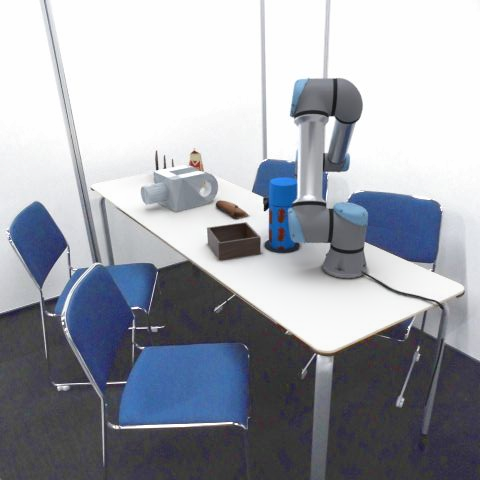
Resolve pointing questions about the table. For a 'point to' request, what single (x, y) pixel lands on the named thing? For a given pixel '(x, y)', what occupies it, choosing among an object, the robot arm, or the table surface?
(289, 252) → the mat
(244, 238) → the box
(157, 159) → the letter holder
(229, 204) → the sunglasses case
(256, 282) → the table surface
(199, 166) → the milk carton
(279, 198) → the thermos
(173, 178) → the grey clevis bracket
